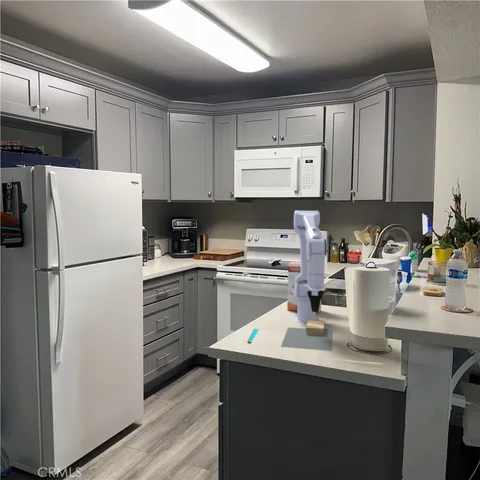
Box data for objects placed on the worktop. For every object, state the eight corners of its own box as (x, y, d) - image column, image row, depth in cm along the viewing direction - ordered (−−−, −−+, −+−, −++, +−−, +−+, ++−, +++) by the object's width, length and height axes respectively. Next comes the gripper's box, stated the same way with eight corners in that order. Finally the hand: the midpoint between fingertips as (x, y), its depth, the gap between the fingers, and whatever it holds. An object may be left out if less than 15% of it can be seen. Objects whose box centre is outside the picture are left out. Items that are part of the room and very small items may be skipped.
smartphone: (247, 341, 138) (254, 328, 152) (247, 344, 138) (254, 331, 152) (269, 343, 136) (274, 330, 151) (269, 345, 136) (274, 332, 151)
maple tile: (305, 334, 146) (307, 326, 155) (323, 335, 144) (324, 327, 154) (306, 327, 145) (307, 319, 155) (323, 328, 144) (324, 321, 154)
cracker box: (286, 310, 181) (287, 263, 180) (290, 307, 187) (291, 261, 185) (318, 313, 176) (319, 265, 174) (321, 310, 182) (322, 263, 180)
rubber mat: (288, 328, 154) (288, 327, 154) (332, 331, 151) (332, 330, 151) (280, 348, 133) (280, 346, 133) (332, 352, 129) (332, 350, 129)
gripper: (305, 269, 152) (305, 306, 153) (302, 276, 138) (302, 316, 139) (325, 270, 151) (324, 307, 152) (324, 277, 137) (323, 317, 138)
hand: (315, 311), depth 145 cm, fingers closed
